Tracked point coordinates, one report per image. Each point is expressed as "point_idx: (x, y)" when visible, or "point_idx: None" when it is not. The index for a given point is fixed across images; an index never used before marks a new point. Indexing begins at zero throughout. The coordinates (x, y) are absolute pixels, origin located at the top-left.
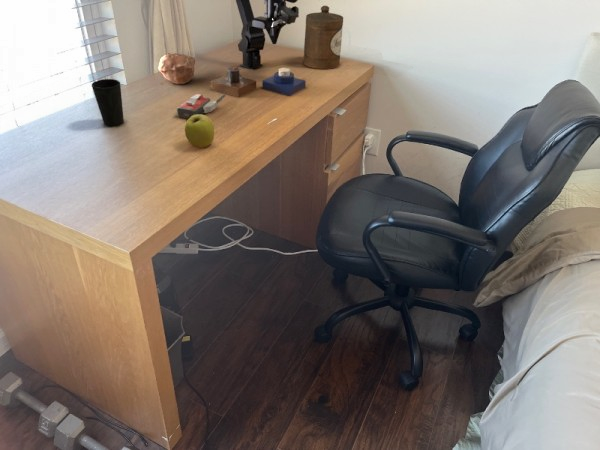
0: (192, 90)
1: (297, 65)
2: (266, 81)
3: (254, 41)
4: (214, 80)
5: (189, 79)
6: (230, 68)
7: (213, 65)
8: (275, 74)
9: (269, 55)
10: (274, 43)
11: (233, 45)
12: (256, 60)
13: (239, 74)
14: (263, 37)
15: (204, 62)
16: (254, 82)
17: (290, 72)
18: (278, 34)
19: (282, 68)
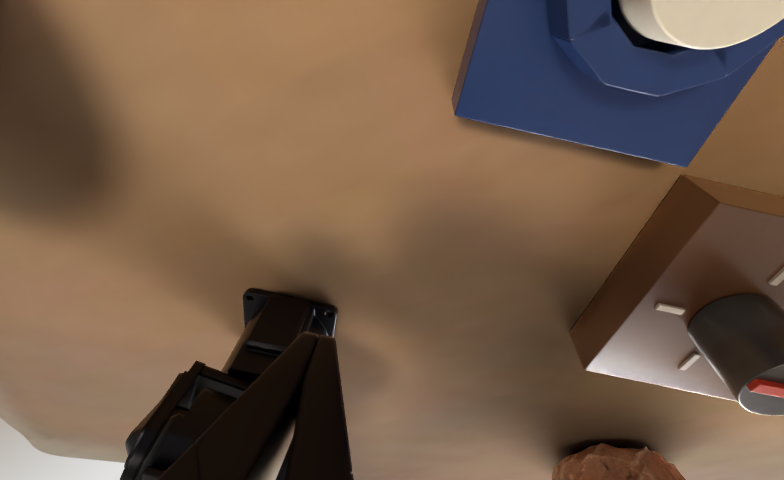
0: (725, 410)
1: (59, 102)
2: (705, 128)
3: (284, 466)
4: (725, 394)
5: (643, 454)
6: (765, 407)
7: (378, 430)
8: (719, 66)
9: (83, 309)
10: (334, 349)
11: (123, 438)
12: (297, 332)
13: (771, 329)
14: (171, 455)
15: (364, 455)
16: (740, 205)
17: None
18: (218, 452)
19: (686, 7)
